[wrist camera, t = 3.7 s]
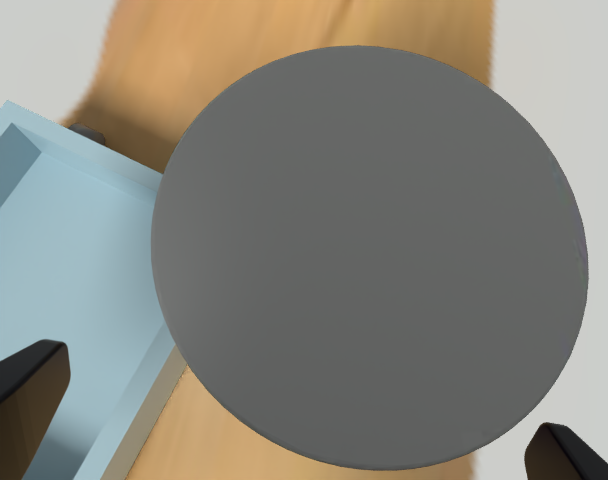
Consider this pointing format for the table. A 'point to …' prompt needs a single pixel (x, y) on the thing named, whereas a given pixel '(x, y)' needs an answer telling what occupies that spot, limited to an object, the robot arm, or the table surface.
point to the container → (369, 258)
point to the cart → (83, 290)
